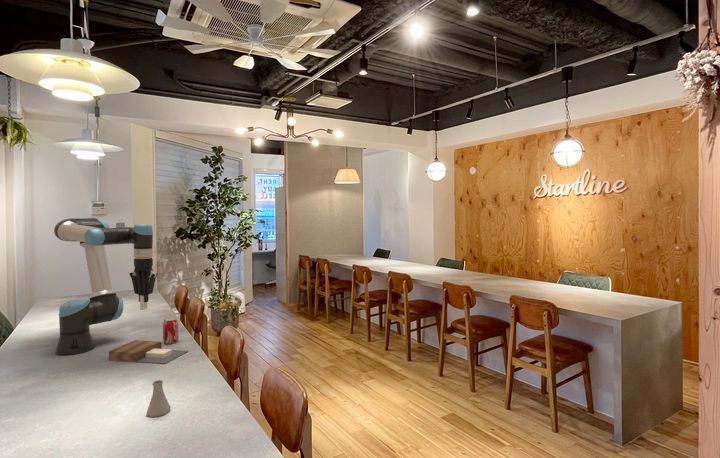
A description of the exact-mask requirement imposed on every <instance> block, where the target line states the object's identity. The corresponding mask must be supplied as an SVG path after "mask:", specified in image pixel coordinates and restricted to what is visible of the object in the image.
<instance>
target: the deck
mask: <svg viewBox="0 0 720 458" xmlns="http://www.w3.org/2000/svg"><path fill="white" fill-rule="evenodd" d="M152 349H162V341H155V340H138V339H137V340H136V339H135V340H133V341H130V342H128V343H125V344H122V345H121V346H119V347H116V348H113V349H111V350H108V360H109V361H116V362H130V363H138V362H137V361H138V360H140V359H142V358H145V353H146V352H148V351H150V350H152Z"/></svg>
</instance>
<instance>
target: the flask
mask: <svg viewBox="0 0 720 458" xmlns="http://www.w3.org/2000/svg"><path fill="white" fill-rule="evenodd" d="M151 383H152V384H151V385H152V386H153V387H152V388H153V390H152V395H151V399H150V402H149V404H148V407H147V411H146V414H145V415H146V417H150V418H151V417H153V418H156V417H161V416H165V415H166V414H168V413H170V411H171V405H170V403H169V401H168V399H167V397H166V394H165V392H164V388H163V383H164V380H163V379H157V380H153V381H152V382H151Z"/></svg>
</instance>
